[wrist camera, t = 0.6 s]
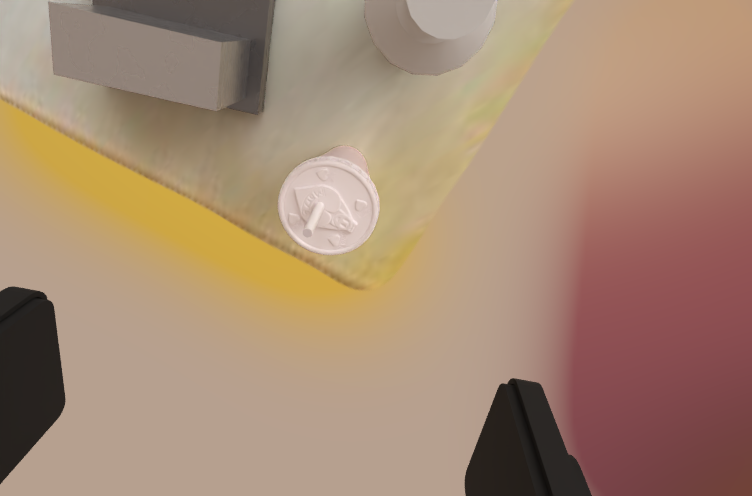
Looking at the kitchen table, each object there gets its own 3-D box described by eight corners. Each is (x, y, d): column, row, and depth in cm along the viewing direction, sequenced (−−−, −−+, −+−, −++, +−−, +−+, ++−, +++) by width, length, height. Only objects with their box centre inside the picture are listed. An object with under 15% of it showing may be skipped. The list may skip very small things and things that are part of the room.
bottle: (433, -45, 32) (509, -221, 9) (467, 28, 33) (604, 32, 11) (367, 0, 33) (290, -55, 10) (404, 68, 35) (407, 147, 12)
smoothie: (332, 111, 36) (295, 156, 24) (400, 159, 38) (399, 226, 25) (290, 177, 39) (236, 250, 26) (355, 220, 40) (333, 309, 27)
